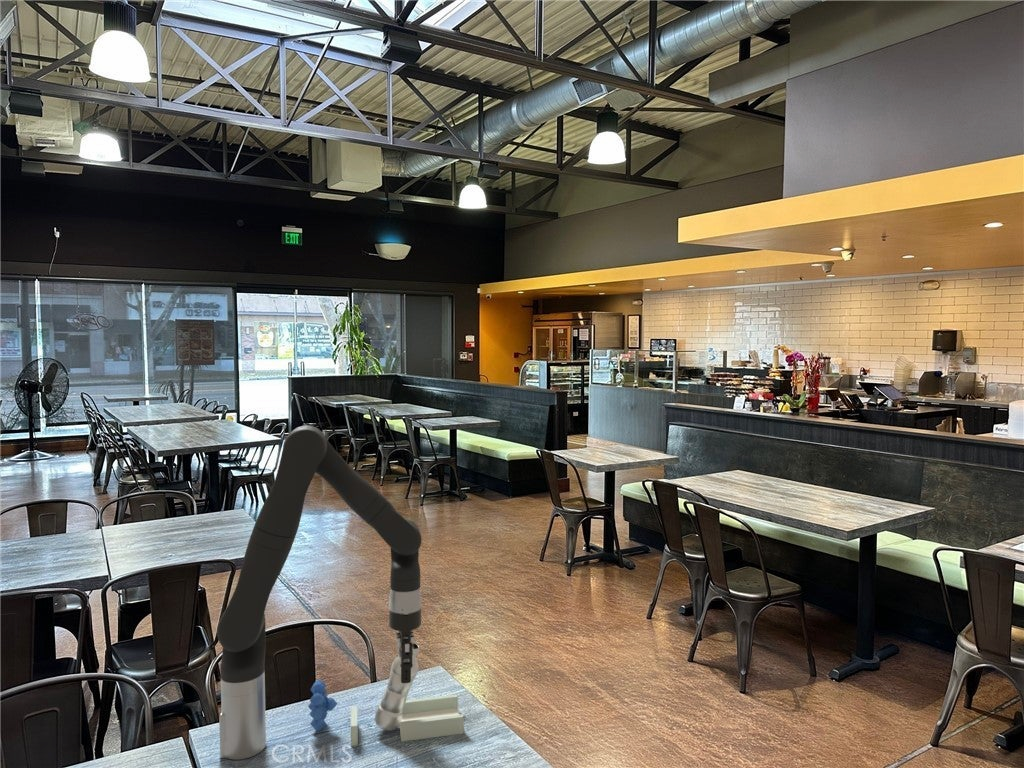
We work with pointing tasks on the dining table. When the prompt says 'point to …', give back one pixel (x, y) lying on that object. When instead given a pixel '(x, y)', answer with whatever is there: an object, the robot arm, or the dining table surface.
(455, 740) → the dining table surface
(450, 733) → the cradle
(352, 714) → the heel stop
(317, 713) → the grapes
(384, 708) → the silver metal bottle
